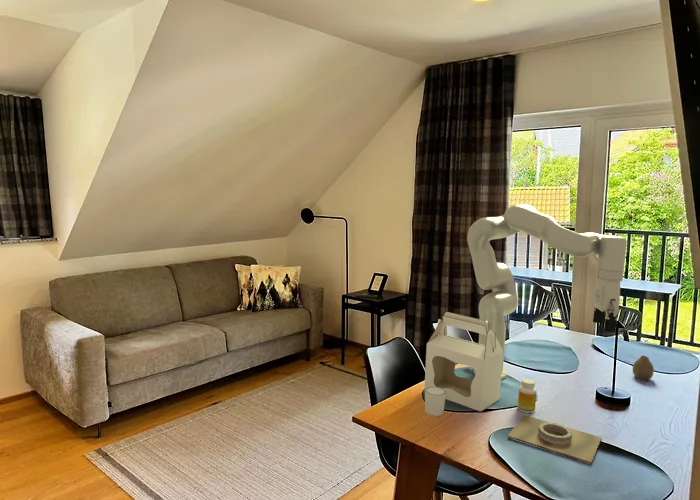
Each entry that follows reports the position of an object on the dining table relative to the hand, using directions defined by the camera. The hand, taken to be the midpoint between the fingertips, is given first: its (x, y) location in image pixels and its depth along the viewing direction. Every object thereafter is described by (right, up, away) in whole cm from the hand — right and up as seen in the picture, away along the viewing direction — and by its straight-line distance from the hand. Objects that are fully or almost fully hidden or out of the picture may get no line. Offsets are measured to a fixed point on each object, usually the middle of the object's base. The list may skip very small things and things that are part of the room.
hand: (603, 327), depth 160 cm
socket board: (-23, -30, -17) cm, 41 cm away
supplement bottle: (-24, -27, +1) cm, 37 cm away
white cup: (-55, -27, -2) cm, 61 cm away
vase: (+30, -25, +30) cm, 49 cm away
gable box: (-43, -25, +11) cm, 51 cm away
